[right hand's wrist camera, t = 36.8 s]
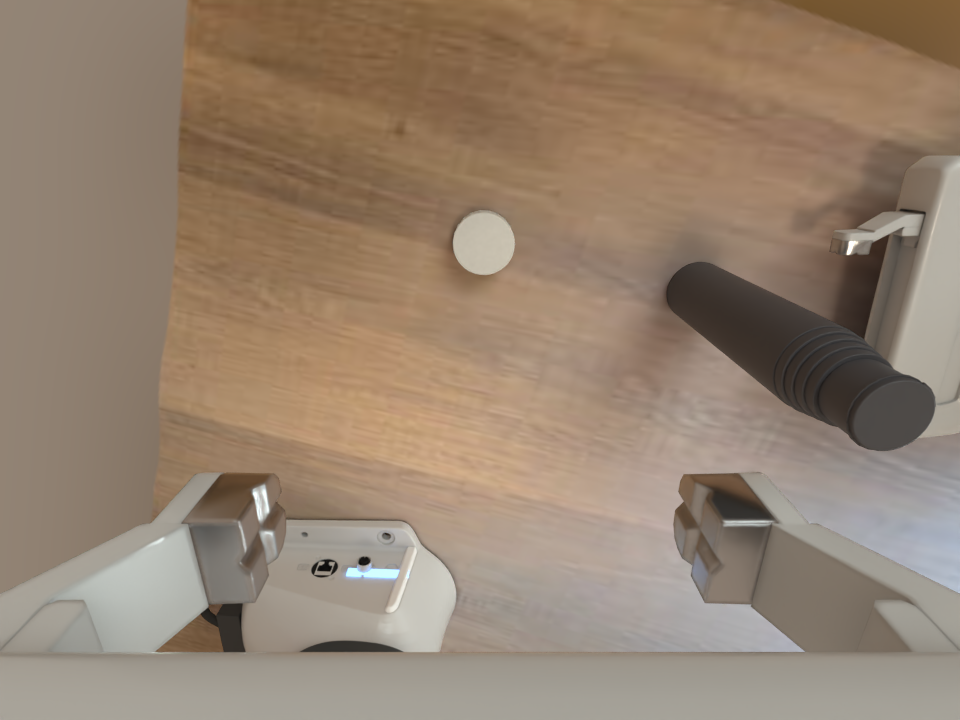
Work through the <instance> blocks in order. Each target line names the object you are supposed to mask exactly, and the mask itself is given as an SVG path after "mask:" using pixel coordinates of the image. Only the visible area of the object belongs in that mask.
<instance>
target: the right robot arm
mask: <svg viewBox="0 0 960 720" xmlns="http://www.w3.org/2000/svg"><path fill="white" fill-rule="evenodd" d="M281 492H282V491H281V487H280V482H279V478H278V477H277V476H276V475H275V474H270V473H223V472H209V473H198V474H195V475H194V476H193V477H192V478H191V479H190V480H189V482H188V483H187V484H186V485H185V486H184V487H183V488H182V489H181V491H180V492H179V493H178V494H177V495H176V496H175V497H174V498H173V499H172V501H171V502H170V503H169V504H168V505H167V506H166V507H165V508H164V509H163V511H162V512H161V513H160V514H159V515H158V516H157V517H156V518H155V519H154V521H153V522H152V523H151V524H141V525H139V526H137V527H135V528H133V529H131V530H129V531H127V532H125V533H123V534H121V535H119V536H116V537H114V538H112V539H110V540H108V541H106V542H104V543H102V544H100V545H98V546H96V547H94V548H92V549H90V550H88V551H86V552H84V553H82V554H80V555H78V556H76V557H74V558H72V559H70V560H68V561H66V562H64V563H62V564H60V565H58V566H55V567H54V568H52V569H49V570H47V571H45V572H43V573H41V574H39V575H37V576H35V577H33V578H31V579H29V580H27V581H25V582H23V583H21V584H19V585H17V586H15V587H13V588H11V589H9V590H7V591H5V592H3V593H1V594H0V720H960V594H959V593H957V592H955V591H953V590H951V589H949V588H947V587H945V586H943V585H941V584H939V583H937V582H935V581H933V580H931V579H929V578H927V577H925V576H922V575H920V574H918V573H916V572H914V571H912V570H910V569H908V568H906V567H904V566H902V565H900V564H898V563H896V562H894V561H892V560H890V559H888V558H886V557H884V556H882V555H880V554H878V553H876V552H874V551H872V550H870V549H868V548H866V547H864V546H862V545H860V544H858V543H856V542H854V541H852V540H850V539H848V538H845V537H843V536H841V535H839V534H837V533H835V532H833V531H831V530H829V529H827V528H825V527H823V526H821V525H819V524H809V523H808V522H807V521H806V519H805V518H804V517H803V516H802V515H801V514H800V513H799V512H798V511H797V509H796V508H795V507H794V506H793V505H792V504H791V503H790V502H789V501H788V499H787V498H786V497H785V496H784V495H783V494H782V493H781V492H780V490H779V489H778V488H777V487H776V486H775V485H774V484H773V483H772V482H771V480H770V479H769V478H768V477H767V476H766V475H764V474H762V473H760V472H748V473H728V474H684V475H683V477H682V479H681V481H680V486H679V491H678V492H679V494H680V495H681V497H682V499H683V501H684V502H683V503H682V504H681V505H680V506H679V507H678V508H677V509H676V510H675V516H674V524H673V525H674V537H675V541H676V545H677V548H678V550H679V553H680V555H681V557H682V558H683V559H684V560H686V561H687V562H688V563H690V564H691V565H693V567H692V572H691V577H692V579H693V581H694V583H695V585H696V587H697V589H698V591H699V593H700V594H701V596H702V598H703V600H704V602H705V603H722V604H752V605H751V607H752V608H754V609H755V610H756V611H757V612H758V613H760V614H761V615H762V616H763V617H764V618H766V619H767V620H768V621H769V622H770V623H772V624H773V625H774V626H775V627H776V628H778V629H779V630H780V631H781V632H782V633H784V634H785V635H786V636H787V637H788V638H790V639H791V640H792V641H793V642H794V643H796V644H797V645H798V646H799V647H800V648H802V649H803V650H804V651H805V652H440V649H441V644H442V641H443V637H444V633H445V630H446V627H447V624H448V622H449V619H450V617H451V615H452V613H453V610H454V608H455V604H456V588H455V584H454V581H453V578H452V576H451V574H450V572H449V571H448V569H447V568H446V567H445V565H444V564H443V563H442V562H441V561H440V560H439V559H438V558H437V557H436V556H434V555H433V554H432V553H431V552H429V551H428V550H427V549H426V548H424V547H423V546H422V545H421V543H420V541H419V539H418V538H417V536H416V534H415V532H414V531H413V529H412V528H411V527H410V526H409V525H408V524H407V523H405V522H402V521H370V520H286V515H285V510H284V509H283V508H282V507H281V506H280V505H279V504H278V503H277V502H276V501H277V499H278V497H279V495H280V494H281ZM384 533H389V534H390V535H386V534H384ZM209 604H223V605H222V607H221V608H220V610H219V612H218V614H217V615H214V614H212V613H211V612H210V610H209V608H208V607H209ZM199 614H201V615H202V616H203V618H204V619H205V620H207V621H208V622H210V623H211V624H213V625H215V626H217V627H219V631H220V636H221V641H222V645H223V650H224V652H155V651H156V650H157V649H159V648H160V647H161V646H162V645H163V644H165V643H166V642H167V641H168V640H169V639H171V638H172V637H173V636H174V635H175V634H177V633H178V632H179V631H180V630H181V629H183V628H184V627H185V626H186V625H187V624H189V623H190V622H191V621H192V620H193V619H195V618H196V617H197V616H198V615H199Z"/></svg>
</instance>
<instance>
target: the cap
mask: <svg viewBox="0 0 960 720" xmlns="http://www.w3.org/2000/svg"><path fill="white" fill-rule="evenodd" d="M453 235H454V238H453V242H452V244H453V250H454V251H453V252H454V254H455V256H456V259H457V261H458V262H459V263H460V264H461V265H462V266H463V267H464V268H465V269H466V270H468V271H469V272H472V273H474V274H478V275H489V274H493V273H496V272H498V271H500V270H501V269H502V268H504V267H505V266H506V265H507V264H508V262H509V261H510V259H511V257H512V255H513V253H514V245H515V242H514V234H513V232H512V230H511V226H510V224H508V223H507V221H506V220H505V218H503V217H502V216H500V215H499V214H498V213H497V212H496V213H495V212H492V211H489V210H479V211H475V212H471V213H470V214H468V215H467V216H466V217H463V219H462V220H461V222H460V223H458V225H457V228H456V231H454V234H453Z"/></svg>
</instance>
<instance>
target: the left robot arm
mask: <svg viewBox="0 0 960 720" xmlns="http://www.w3.org/2000/svg"><path fill="white" fill-rule="evenodd" d="M888 234H890V235H889V239H888V244H887V248H886V252H885V256H884V260H883V264H882V268H881V272H880V276H879V280H878V284H877V288H876V292H875V296H874V300H873V304H872V309H871V313H870V317H869V321H868V325H867V329H866V333H865V337H864V340H865V341H866V342H867V343H868V344H869V345H870V346H871V347H872V348H873V349H874V350H875V351H877V352H878V353H879V354H880V355H881V356H882V357H883V358H884V359H886V360H887V361H888V362H889V363H890V364H891V365H892V367H893V369H895V370H896V371H898V372H900V373H902V374H905V375H910V376H912V377H914V378H917V379H919V380H920V381H921V382H922V383H923V382H924V383H926V384H927V385H928V386H929V387H930V388H931V389H932V391H933V393H934V395H935V397H936V398H935V401H936V407H935V413H934V416H933V419H932V421H931V423H930V425H929V426H928V428H927V429H926V430H925V431H924V432H923V433H922V434H921V435H920V436H919V437H918V438H927V437H937V436H944V435H951V434H956V433H960V156H959V155H944V156H925V157H923V158H921V159H920V160H918V161H917V162H915V163H914V164H913V165H911V166H910V167H909V168H908V169H907V170H906V172H905V175H904V178H903V183H902V187H901V191H900V195H899V199H898V203H897V207H896V211H891V212H882V213H880V214H879V215H877V216H875V217H874V218H872V219H870V220H869V221H867V222H865V223H863V224H862V225H860V226H858V227H857V229H847V230H834V232H833V236H832V242H831V247H830V251H829V252H832V253H836V254H839V255H853V254H858V255H867V254H869V252H870V248H871V244H872V242H875V241H877V240H879V239H881V238H883V237H885V236H886V235H888Z"/></svg>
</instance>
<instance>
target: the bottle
mask: <svg viewBox="0 0 960 720" xmlns="http://www.w3.org/2000/svg"><path fill="white" fill-rule="evenodd" d="M667 300H668V304H669V306H670V308H671V309H672V311H673V312H674V313H675V314H677V315H678V316H679V317H680V318H681V319H683V320H684V321H685V322H686V323H688V324H689V325H690V326H691V327H692V328H694V329H695V330H696V331H697V332H699V333H700V334H701V335H702V336H703V337H705V338H706V339H707V340H708V341H709V342H711V343H712V344H713V345H714V346H716V347H717V348H718V349H719V350H720V351H722V352H723V353H724V354H725V355H727V356H728V357H729V358H730V359H731V360H733V361H734V362H735V363H736V364H738V365H739V366H740V367H741V368H742V369H744V370H745V371H746V372H747V373H749V374H750V375H751V376H752V377H753V378H755V379H756V380H757V381H758V382H760V383H761V384H762V385H763V386H764V387H766V388H767V389H768V390H769V391H771V392H772V393H773V394H774V395H775V396H777V397H778V398H779V399H780V400H782V401H783V402H784V403H786V404H787V405H789V406H791V407H792V408H794V409H795V410H797V411H799V412H802V413H805V414H806V415H808V416H811V417H814V418H816V419H818V420H820V421H823V422H825V423H827V424H829V425H832V426H836V427H839V428H840V429H842V430H843V431H844V432H846V433H847V434H848V435H849V437H850V438H851V439H852V440H853V441H854V442H855V443H856V444H858V445H859V446H862V447H864V448H866V449H870V450H877V451H888V450H894V449H898V448H901V447H903V446H905V445H908V444H909V443H911V442H913V441H914V440H915V439H917V438H918V437H919V436H920V435H921V434H922V433H923V432H924V431H925V430H926V429H927V428H928V426H929V425H930V423H931V421H932V419H933V416H934V413H935V407H936V401H935V398H936V397H935V395H934V393H933V391H932V389H931V388H930V387H929V386H928V385H927V384H926V383H924V382H923V383H922V382H921V381H920V380H919V379H917V378H914V377H912V376H910V375H905V374H902V373H900V372H898V371H896V370H895V369H893V367H892V365H891V364H890V363H889V362H888V361H887V360H886V359H884V358H883V357H882V356H881V355H880V354H879V353H878V352H877V351H875V350H874V349H873V348H872V347H871V346H870V345H869V344H868V343H867V342H866V341H865V340H864V339H862V338H861V337H860V336H858V335H856V334H855V333H854V332H852V331H851V330H849V329H847V328H845V327H843V326H840V325H838V324H836V323H834V322H832V321H830V320H828V319H826V318H824V317H822V316H819V315H817V314H815V313H813V312H811V311H809V310H807V309H805V308H803V307H801V306H798V305H796V304H794V303H792V302H790V301H788V300H786V299H784V298H782V297H780V296H778V295H775V294H773V293H771V292H769V291H767V290H765V289H763V288H761V287H759V286H757V285H754V284H752V283H750V282H748V281H746V280H744V279H742V278H740V277H738V276H736V275H733V274H731V273H729V272H727V271H725V270H723V269H721V268H719V267H717V266H715V265H712V264H710V263H706V262H696V263H692V264H689V265H687V266H685V267H683V268H682V269H680V270H679V271H678V272H677V273H676V274H675V275H674V276H673V278H672V279H671V281H670V283H669V286H668V290H667Z"/></svg>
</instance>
